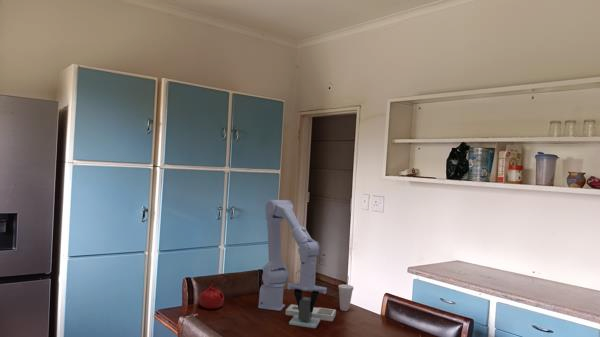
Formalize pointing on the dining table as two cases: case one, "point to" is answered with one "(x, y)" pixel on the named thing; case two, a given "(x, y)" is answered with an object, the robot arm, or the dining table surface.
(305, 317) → the block
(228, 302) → the dining table surface
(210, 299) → the pomegranate
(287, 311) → the power strip
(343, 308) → the smoothie
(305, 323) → the tile
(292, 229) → the robot arm
